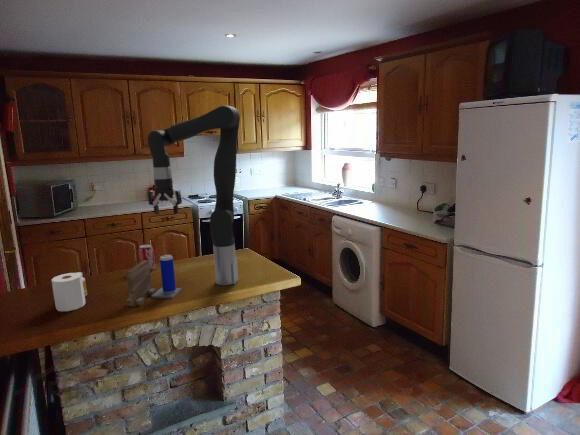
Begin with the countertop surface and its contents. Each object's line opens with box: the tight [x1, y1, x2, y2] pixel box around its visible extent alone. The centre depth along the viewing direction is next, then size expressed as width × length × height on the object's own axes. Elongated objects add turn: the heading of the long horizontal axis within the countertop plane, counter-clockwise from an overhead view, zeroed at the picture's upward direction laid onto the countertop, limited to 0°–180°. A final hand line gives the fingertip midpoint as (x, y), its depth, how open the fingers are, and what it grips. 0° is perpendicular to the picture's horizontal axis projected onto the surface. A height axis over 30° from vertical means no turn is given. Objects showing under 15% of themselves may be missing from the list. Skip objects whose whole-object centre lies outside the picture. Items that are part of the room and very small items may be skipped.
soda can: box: [138, 243, 156, 272], centre depth 206 cm, size 7×7×12 cm
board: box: [125, 260, 157, 307], centre depth 170 cm, size 6×14×14 cm, turn 171°
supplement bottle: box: [76, 271, 88, 297], centre depth 176 cm, size 5×5×10 cm
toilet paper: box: [50, 272, 87, 312], centre depth 166 cm, size 10×10×12 cm
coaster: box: [151, 287, 182, 299], centre depth 176 cm, size 9×9×1 cm
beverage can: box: [159, 254, 177, 293], centre depth 175 cm, size 5×5×15 cm
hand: (166, 214), depth 187 cm, fingers open, 8 cm apart
